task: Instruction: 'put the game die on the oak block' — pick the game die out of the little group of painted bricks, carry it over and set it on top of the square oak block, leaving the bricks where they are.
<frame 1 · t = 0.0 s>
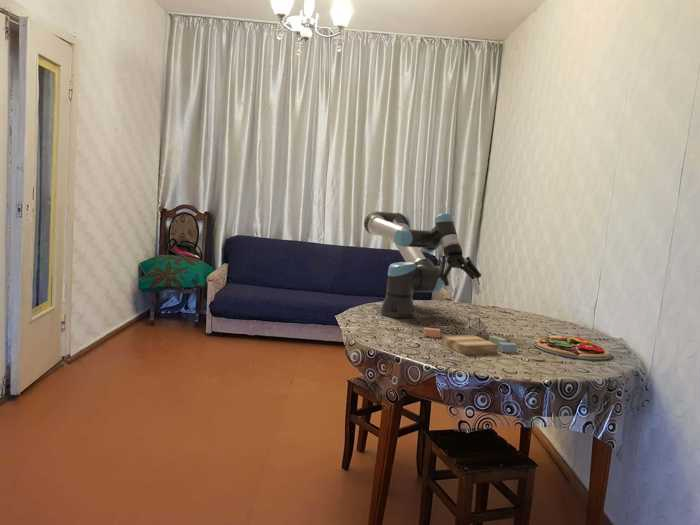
hand: (464, 293, 232), 15 cm above the table, tool tilted 35°, fingers open, 13 cm apart
sage brick: (496, 345, 213), on the table
terracotta brick: (431, 336, 218), on the table
oak block: (468, 348, 204), on the table
toy pizza: (571, 351, 215), on the table
game die: (473, 339, 220), on the table
slate blue brick: (506, 351, 205), on the table
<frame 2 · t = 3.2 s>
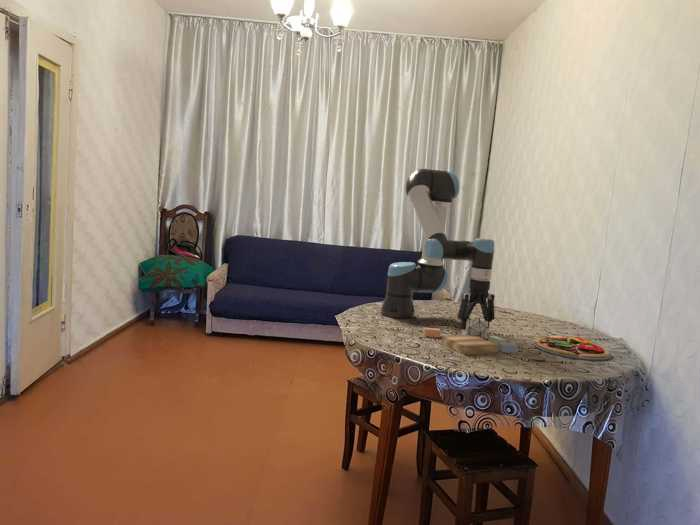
hand: (473, 337, 220), 0 cm above the table, tool pointing down, fingers closed on game die, 8 cm apart
game die: (473, 339, 220), on the table, touching gripper
everything else where it was.
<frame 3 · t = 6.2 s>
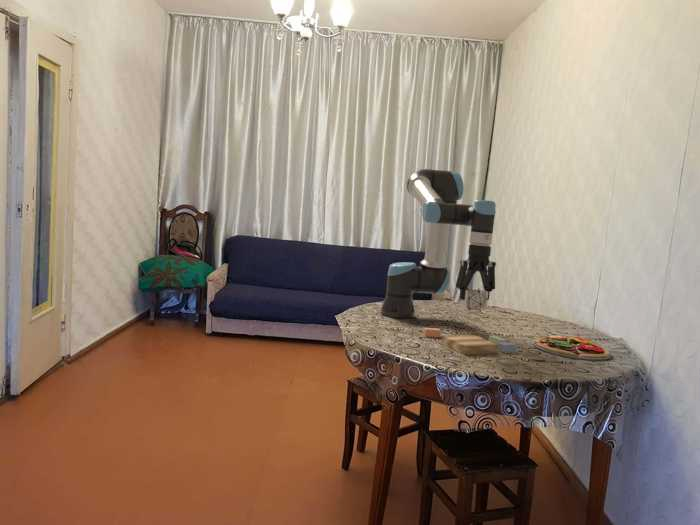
hand: (473, 308, 202), 14 cm above the table, tool pointing down, fingers closed on game die, 8 cm apart
game die: (472, 311, 202), point 13 cm above the table, touching gripper
everything else where it was.
when the fingers open (5 cm above the table, at t = 8.2 s): game die stays where it is, resting on oak block.
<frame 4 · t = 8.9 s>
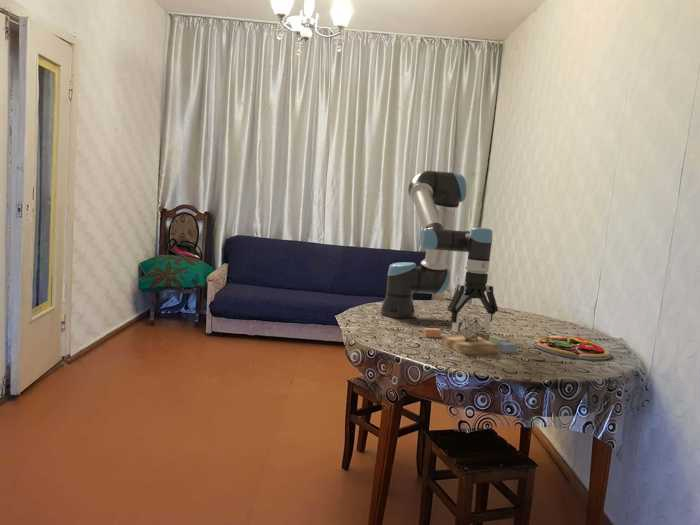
hand: (470, 331, 203), 6 cm above the table, tool pointing down, fingers open, 13 cm apart
game die: (469, 340, 203), point 3 cm above the table, touching oak block
everything else where it was.
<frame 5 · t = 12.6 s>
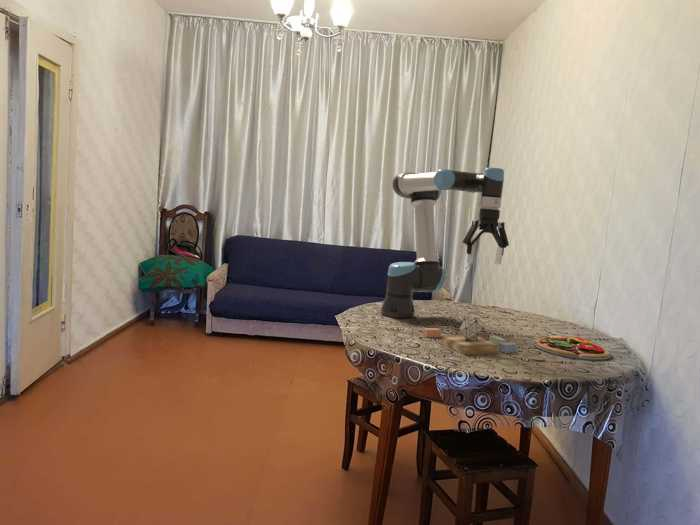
hand: (483, 263, 223), 29 cm above the table, tool pointing down, fingers open, 13 cm apart
nothing on the table moved.
at the end: game die inside the target area on the oak block (0.1 cm from its centre), point 2.8 cm above the oak block's base; game die tilted 0°; sage brick moved 0.2 cm from its start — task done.
